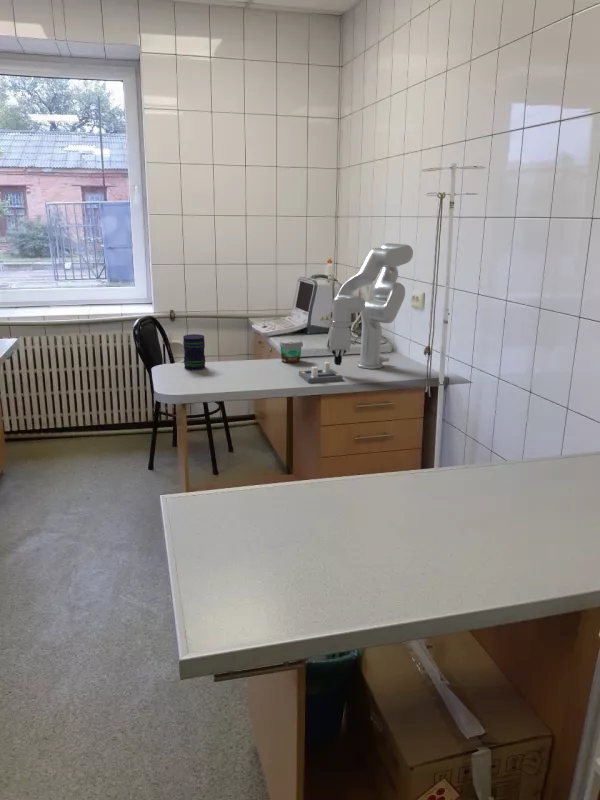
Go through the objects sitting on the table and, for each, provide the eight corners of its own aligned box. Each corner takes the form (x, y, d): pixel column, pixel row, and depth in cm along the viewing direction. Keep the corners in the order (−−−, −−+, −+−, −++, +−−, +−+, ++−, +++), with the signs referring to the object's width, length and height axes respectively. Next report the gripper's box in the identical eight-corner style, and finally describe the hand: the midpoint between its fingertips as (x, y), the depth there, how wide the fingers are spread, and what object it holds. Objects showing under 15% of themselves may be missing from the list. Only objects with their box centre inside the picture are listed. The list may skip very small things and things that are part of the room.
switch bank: (331, 373, 287) (331, 368, 286) (342, 380, 275) (342, 375, 274) (298, 375, 282) (299, 370, 281) (308, 383, 270) (308, 378, 269)
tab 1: (316, 377, 276) (316, 366, 274) (318, 378, 273) (319, 368, 271) (310, 377, 275) (310, 366, 273) (312, 379, 272) (312, 368, 270)
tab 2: (328, 371, 284) (328, 361, 283) (330, 373, 282) (331, 363, 280) (322, 372, 283) (322, 361, 282) (324, 374, 281) (324, 363, 279)
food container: (284, 365, 299) (284, 344, 296) (278, 362, 304) (279, 342, 301) (306, 362, 305) (307, 342, 302) (301, 359, 310) (301, 340, 307)
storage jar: (202, 364, 297) (201, 333, 293) (208, 369, 289) (207, 337, 284) (181, 366, 293) (180, 335, 289) (187, 371, 285) (186, 339, 280)
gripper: (352, 323, 283) (349, 362, 289) (321, 323, 278) (319, 363, 284) (358, 325, 277) (356, 365, 282) (327, 326, 272) (325, 367, 277)
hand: (337, 364), depth 283 cm, fingers closed
